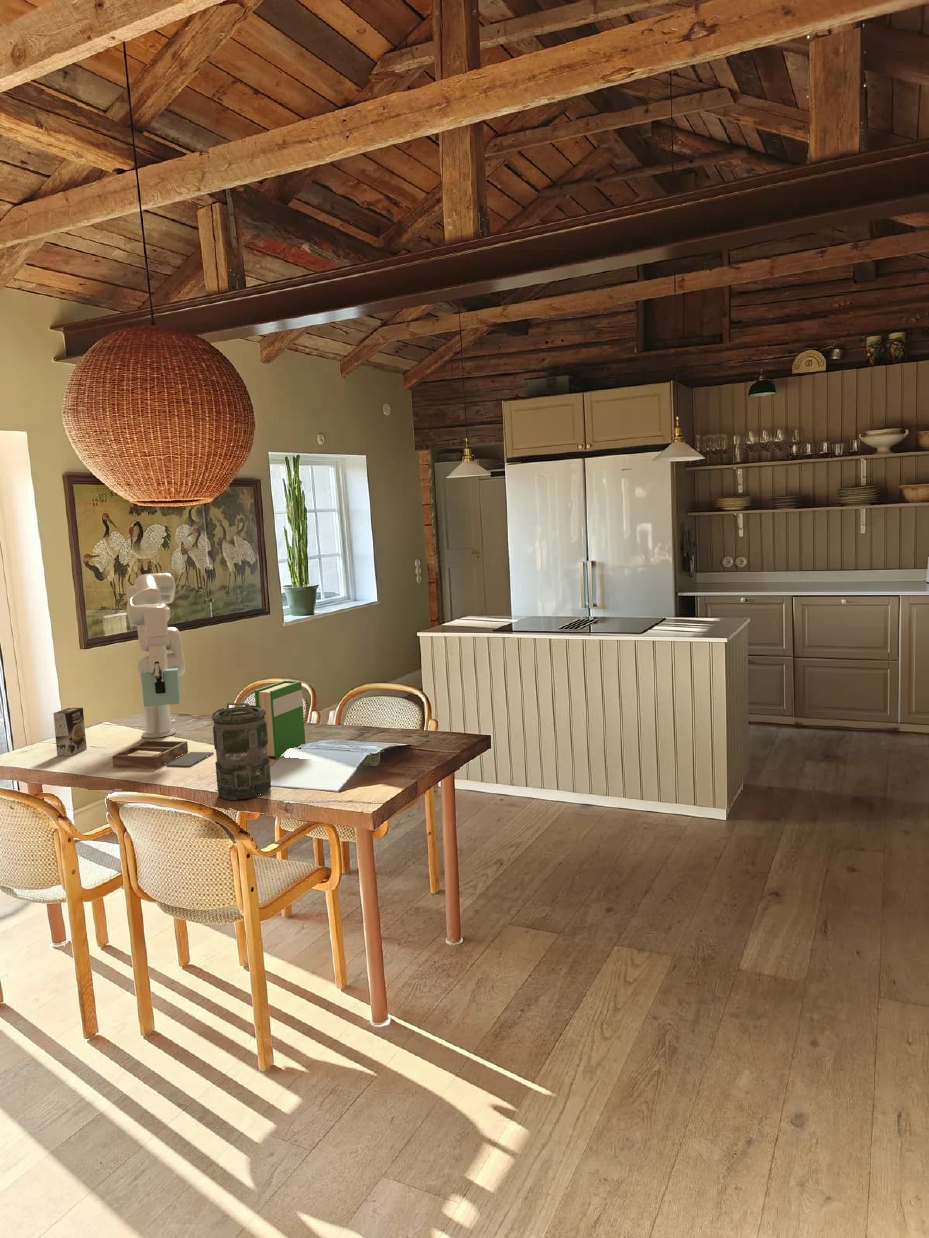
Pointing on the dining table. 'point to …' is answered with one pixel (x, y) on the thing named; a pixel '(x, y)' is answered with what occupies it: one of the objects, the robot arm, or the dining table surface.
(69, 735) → the coffee box
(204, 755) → the mat
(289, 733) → the hardback book
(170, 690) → the pale green square slab
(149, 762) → the rack
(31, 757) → the dining table surface
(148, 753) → the offcut upper
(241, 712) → the canister
